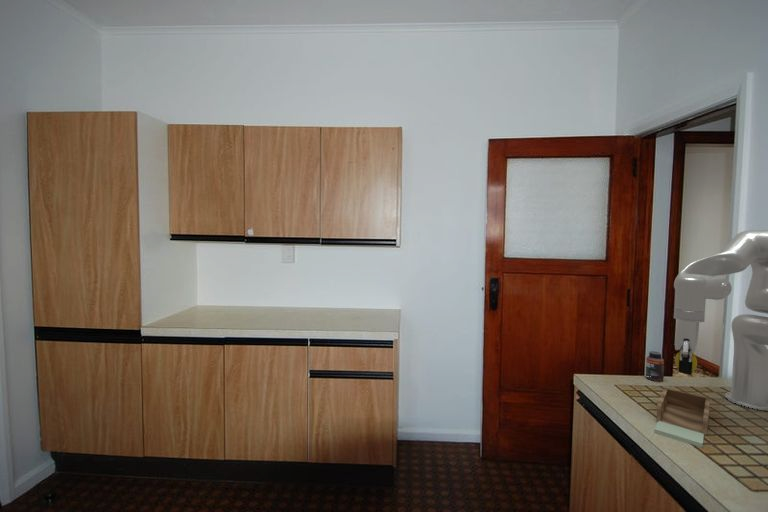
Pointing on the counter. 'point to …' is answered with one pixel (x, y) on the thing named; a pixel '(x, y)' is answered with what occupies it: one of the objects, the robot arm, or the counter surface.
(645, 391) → the counter surface
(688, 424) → the crate
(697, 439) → the panel
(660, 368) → the supplement bottle
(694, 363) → the lemon
